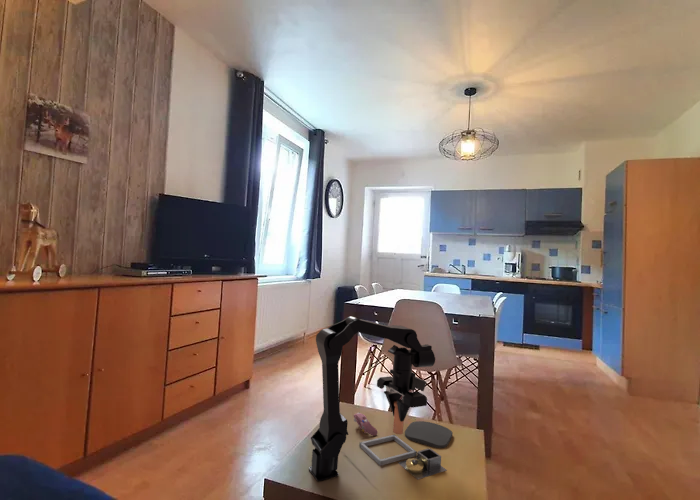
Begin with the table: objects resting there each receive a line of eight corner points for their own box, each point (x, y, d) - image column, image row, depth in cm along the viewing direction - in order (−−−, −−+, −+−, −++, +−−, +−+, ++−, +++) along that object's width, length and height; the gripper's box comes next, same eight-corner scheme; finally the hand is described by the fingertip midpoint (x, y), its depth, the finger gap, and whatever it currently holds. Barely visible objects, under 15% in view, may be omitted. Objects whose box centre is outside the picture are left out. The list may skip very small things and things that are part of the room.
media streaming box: (401, 441, 122) (401, 432, 123) (414, 425, 135) (414, 417, 136) (444, 455, 116) (445, 445, 116) (454, 436, 129) (454, 427, 129)
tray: (379, 469, 105) (380, 461, 105) (359, 449, 115) (359, 442, 115) (416, 458, 112) (416, 451, 112) (393, 441, 122) (394, 434, 122)
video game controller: (356, 429, 132) (349, 412, 131) (366, 422, 134) (360, 405, 133) (368, 442, 123) (361, 424, 122) (379, 434, 125) (372, 417, 124)
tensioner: (417, 483, 99) (418, 468, 100) (397, 465, 107) (398, 452, 107) (446, 473, 105) (447, 459, 105) (425, 457, 113) (426, 444, 113)
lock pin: (396, 435, 109) (398, 406, 110) (389, 430, 113) (391, 401, 113) (406, 433, 111) (408, 404, 111) (399, 428, 114) (401, 400, 115)
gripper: (443, 375, 108) (439, 428, 108) (405, 358, 124) (401, 404, 124) (413, 378, 103) (409, 434, 102) (377, 360, 119) (374, 408, 119)
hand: (398, 418), depth 112 cm, fingers closed on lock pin, 3 cm apart
